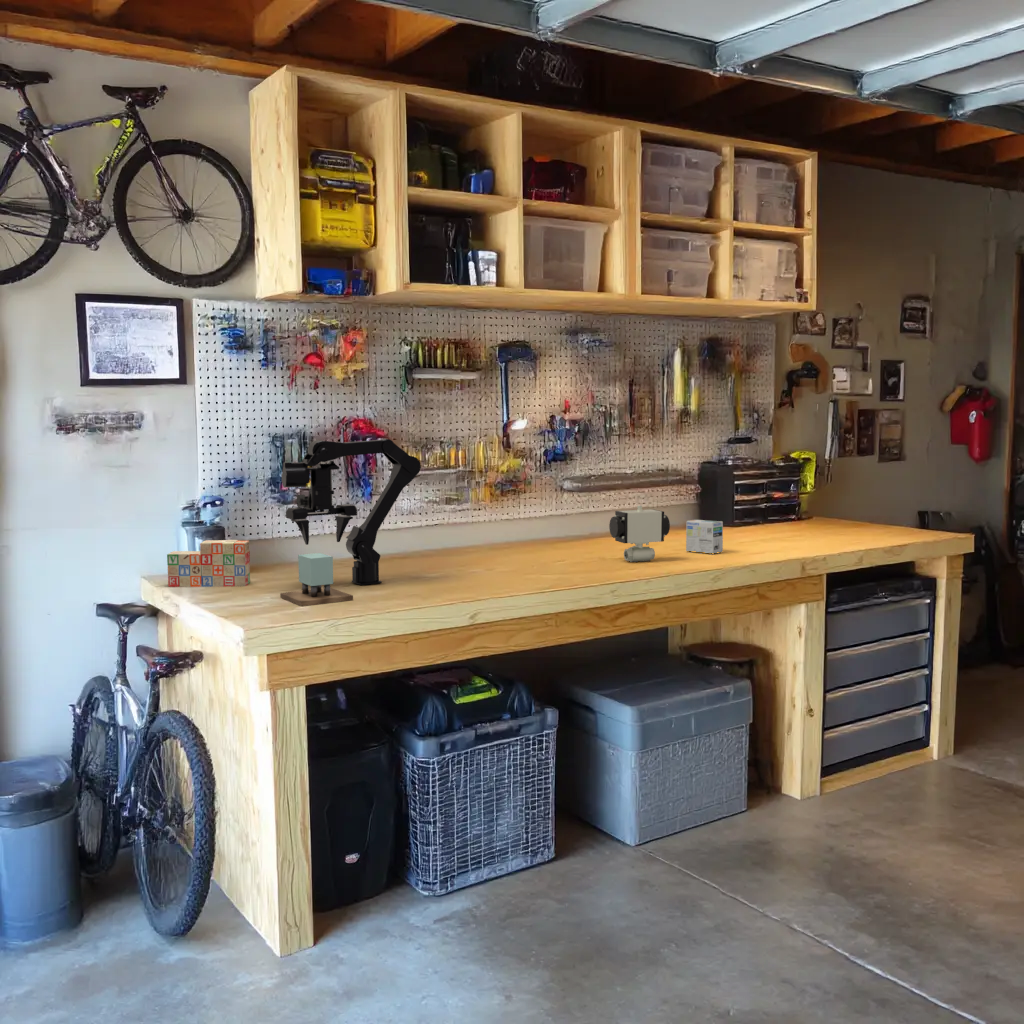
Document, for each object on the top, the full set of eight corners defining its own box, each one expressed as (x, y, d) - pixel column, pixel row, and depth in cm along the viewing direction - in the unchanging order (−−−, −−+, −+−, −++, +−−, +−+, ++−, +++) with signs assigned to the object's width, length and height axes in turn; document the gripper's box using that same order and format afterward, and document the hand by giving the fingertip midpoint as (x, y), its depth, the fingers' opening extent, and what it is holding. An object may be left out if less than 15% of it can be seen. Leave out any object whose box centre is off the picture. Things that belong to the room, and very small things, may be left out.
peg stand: (330, 592, 270) (330, 576, 270) (353, 600, 259) (352, 583, 258) (280, 597, 263) (279, 581, 262) (301, 606, 251) (300, 589, 251)
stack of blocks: (167, 587, 279) (165, 543, 278) (174, 583, 285) (172, 540, 284) (246, 586, 280) (244, 542, 279) (250, 582, 286) (249, 539, 285)
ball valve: (657, 557, 330) (658, 503, 328) (669, 561, 322) (670, 505, 320) (607, 560, 324) (607, 505, 322) (618, 564, 316) (618, 507, 314)
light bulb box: (723, 552, 341) (723, 521, 340) (713, 555, 336) (713, 522, 335) (695, 550, 348) (695, 518, 347) (685, 552, 343) (685, 520, 342)
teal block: (320, 579, 265) (319, 552, 265) (333, 583, 259) (332, 556, 258) (298, 581, 262) (298, 554, 261) (311, 586, 255) (310, 558, 255)
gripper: (340, 483, 288) (341, 537, 289) (277, 486, 277) (279, 542, 279) (357, 485, 279) (358, 541, 280) (293, 488, 268) (294, 547, 270)
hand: (322, 543), depth 278 cm, fingers open, 9 cm apart
